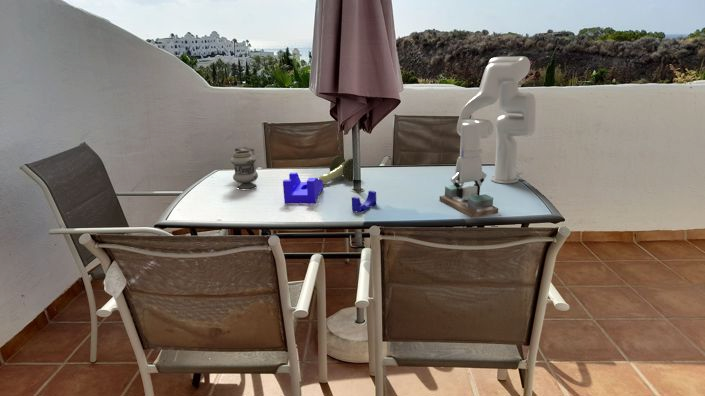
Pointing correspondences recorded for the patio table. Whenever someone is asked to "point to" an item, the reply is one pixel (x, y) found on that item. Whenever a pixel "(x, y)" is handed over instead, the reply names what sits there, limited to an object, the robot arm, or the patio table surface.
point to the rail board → (466, 210)
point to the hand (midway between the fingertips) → (468, 195)
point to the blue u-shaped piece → (367, 204)
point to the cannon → (339, 170)
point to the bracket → (301, 189)
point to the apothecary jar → (244, 169)
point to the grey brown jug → (247, 149)
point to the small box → (469, 191)
